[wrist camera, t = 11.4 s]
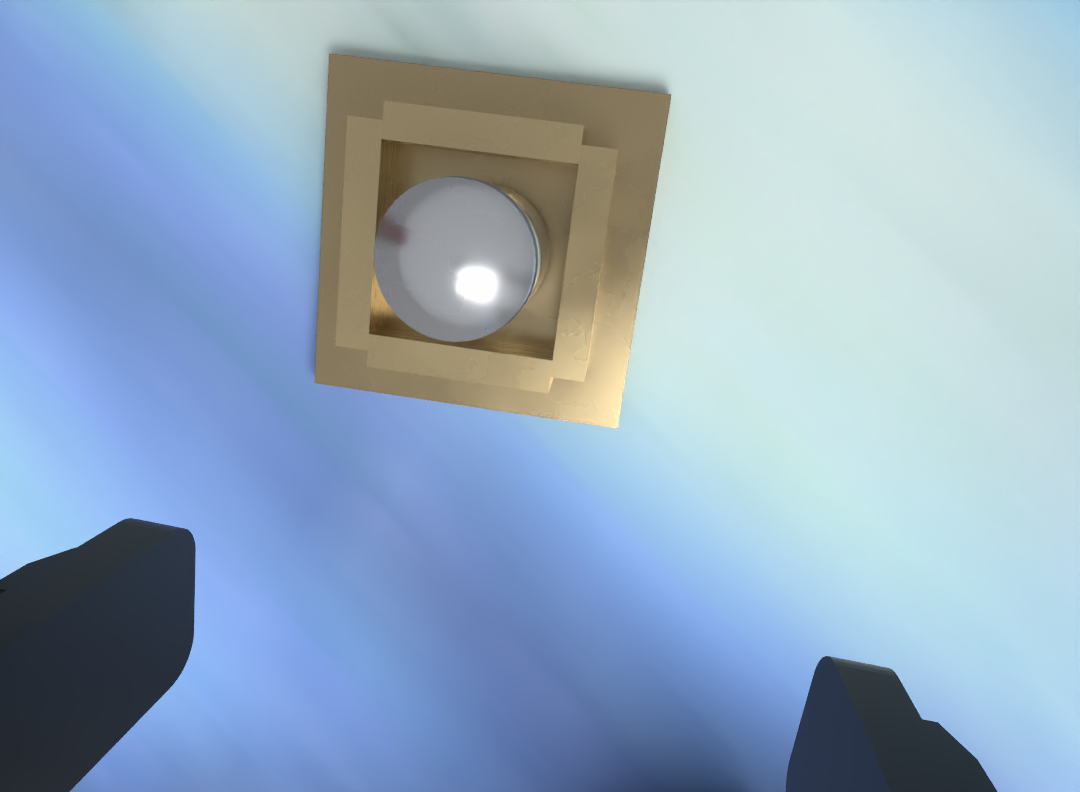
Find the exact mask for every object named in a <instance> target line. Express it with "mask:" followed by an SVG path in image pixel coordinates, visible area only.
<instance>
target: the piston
mask: <svg viewBox="0 0 1080 792" xmlns="http://www.w3.org/2000/svg"><path fill="white" fill-rule="evenodd" d="M549 252H550V250H549V240H548V234H547V231H546V228H545V225H544V223H543V221H542V219H541V217H540V215H539V214H538V212H537V211H536V209H535V208H534V207H533V206H532V205H531V203H530V202H529V201H527V200H526V199H525V198H524V197H523V196H521V195H520V194H519V193H517V192H515V191H514V190H512V189H510V188H507V187H504V186H502V185H498V184H493V183H488V182H484V181H481V180H479V179H474V178H469V177H462V176H449V177H441V178H436V179H431V180H428V181H425V182H422V183H420V184H418V185H416V186H414V187H412V188H410V189H409V190H407V191H406V192H405V193H403V194H402V195H401V196H400V197H399V198H398V199H397V200H396V201H395V202H394V203H393V204H392V205H391V206H390V208H389V209H388V210H387V212H386V214H385V215H384V217H383V219H382V221H381V223H380V226H379V228H378V231H377V235H376V238H375V244H374V269H375V274H376V278H377V282H378V285H379V288H380V290H381V293H382V294H383V296H384V298H385V300H386V302H387V303H388V305H389V306H390V308H391V309H392V310H393V312H394V313H395V314H396V315H397V316H398V317H399V318H400V319H401V320H402V321H403V322H405V323H406V324H407V325H408V326H410V327H411V328H413V329H414V330H416V331H417V332H419V333H421V334H423V335H425V336H428V337H431V338H434V339H438V340H442V341H451V342H463V341H470V340H475V339H478V338H482V337H485V336H487V335H489V334H491V333H493V332H495V331H497V330H499V329H500V328H502V327H503V326H505V325H506V324H508V323H509V322H510V321H511V320H512V319H513V318H514V317H515V316H516V315H517V314H518V313H519V312H520V311H521V309H522V308H523V307H524V305H525V304H526V302H527V301H528V300H529V299H530V298H531V297H532V296H533V294H534V293H535V292H536V291H537V289H538V288H539V286H540V285H541V283H542V281H543V279H544V277H545V274H546V271H547V267H548V262H549Z"/></svg>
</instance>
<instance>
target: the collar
mask: <svg viewBox="0 0 1080 792" xmlns="http://www.w3.org/2000/svg"><path fill="white" fill-rule="evenodd" d="M670 100H671V94H662V93H654V92H646V91H637V90H629V89H620V88H612V87H604V86H595V85H587V84H579V83H570V82H562V81H554V80H545V79H537V78H529V77H520V76H512V75H504V74H495V73H487V72H478V71H470V70H462V69H453V68H445V67H437V66H428V65H420V64H412V63H403V62H395V61H387V60H378V59H370V58H362V57H353V56H345V55H337V54H329V73H328V95H327V117H326V139H325V162H324V184H323V206H322V228H321V250H320V272H319V295H318V317H317V339H316V361H315V383H318V384H325V385H332V386H338V387H345V388H352V389H358V390H365V391H372V392H378V393H385V394H392V395H398V396H405V397H412V398H418V399H425V400H431V401H438V402H445V403H451V404H458V405H465V406H471V407H478V408H485V409H491V410H498V411H505V412H511V413H518V414H525V415H531V416H538V417H545V418H551V419H558V420H565V421H571V422H578V423H585V424H591V425H598V426H605V427H611V428H618V422H619V416H620V410H621V404H622V398H623V391H624V385H625V379H626V373H627V367H628V361H629V354H630V348H631V342H632V336H633V330H634V323H635V317H636V311H637V305H638V299H639V292H640V286H641V280H642V274H643V268H644V261H645V255H646V249H647V243H648V237H649V230H650V224H651V218H652V212H653V206H654V199H655V193H656V187H657V181H658V175H659V169H660V162H661V156H662V150H663V144H664V138H665V131H666V125H667V119H668V113H669V107H670ZM449 176H462V177H469V178H474V179H479V180H481V181H484V182H488V183H493V184H498V185H502V186H504V187H507V188H510V189H512V190H514V191H515V192H517V193H519V194H520V195H521V196H523V197H524V198H525V199H526V200H527V201H529V202H530V203H531V205H532V206H533V207H534V208H535V209H536V211H537V212H538V214H539V215H540V217H541V219H542V221H543V223H544V225H545V228H546V231H547V234H548V240H549V250H550V252H549V262H548V267H547V271H546V274H545V277H544V279H543V281H542V283H541V285H540V286H539V288H538V289H537V291H536V292H535V293H534V294H533V296H532V297H531V298H530V299H529V300H528V301H527V302H526V304H525V305H524V307H523V308H522V309H521V311H520V312H519V313H518V314H517V315H516V316H515V317H514V318H513V319H512V320H511V321H510V322H509V323H508V324H506V325H505V326H503V327H502V328H500V329H499V330H497V331H495V332H493V333H491V334H489V335H487V336H485V337H482V338H478V339H475V340H470V341H463V342H451V341H442V340H438V339H434V338H431V337H428V336H425V335H423V334H421V333H419V332H417V331H416V330H414V329H413V328H411V327H410V326H408V325H407V324H406V323H405V322H403V321H402V320H401V319H400V318H399V317H398V316H397V315H396V314H395V313H394V312H393V310H392V309H391V308H390V306H389V305H388V303H387V302H386V300H385V298H384V296H383V294H382V293H381V290H380V288H379V285H378V282H377V278H376V274H375V269H374V244H375V238H376V235H377V231H378V228H379V226H380V223H381V221H382V219H383V217H384V215H385V214H386V212H387V210H388V209H389V208H390V206H391V205H392V204H393V203H394V202H395V201H396V200H397V199H398V198H399V197H400V196H401V195H402V194H403V193H405V192H406V191H407V190H409V189H410V188H412V187H414V186H416V185H418V184H420V183H422V182H425V181H428V180H431V179H436V178H441V177H449Z"/></svg>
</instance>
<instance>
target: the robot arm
mask: <svg viewBox="0 0 1080 792" xmlns="http://www.w3.org/2000/svg"><path fill="white" fill-rule="evenodd" d="M194 598H195V541H194V538H193V535H192V534H191V532H190V531H189V530H187V529H184V528H179V527H174V526H169V525H164V524H159V523H153V522H148V521H143V520H138V519H133V518H128V519H124V520H122V521H120V522H118V523H117V524H115V525H113V526H112V527H110V528H108V529H107V530H105V531H104V532H102V533H100V534H99V535H97V536H95V537H94V538H92V539H90V540H89V541H87V542H85V543H84V544H82V545H80V546H79V547H77V548H73V549H70V550H67V551H64V552H61V553H58V554H55V555H52V556H49V557H46V558H43V559H40V560H37V561H34V562H31V563H28V564H26V565H25V566H23V567H21V568H20V569H18V570H16V571H14V572H13V573H11V574H9V575H8V576H6V577H4V578H2V579H1V580H0V792H70V790H71V789H72V788H73V787H74V786H75V785H76V784H77V783H78V782H79V781H80V780H81V779H82V778H83V777H84V776H85V775H86V774H87V773H88V772H89V771H90V770H91V769H92V768H93V767H94V766H95V765H96V764H97V763H98V762H99V761H100V760H101V759H102V758H103V756H104V755H105V754H106V753H107V752H108V751H109V750H110V749H111V748H112V747H113V746H114V745H115V744H116V743H117V742H118V741H119V740H120V739H121V738H122V737H123V736H124V735H125V734H126V733H127V732H128V731H129V730H130V729H131V728H132V727H133V726H134V725H135V724H136V722H137V721H138V720H139V719H140V718H141V717H142V716H143V715H144V714H145V713H146V712H147V711H148V710H149V709H150V708H151V707H152V706H153V705H154V704H155V703H156V702H157V701H158V700H159V699H160V698H161V697H162V696H163V695H164V694H165V693H166V692H167V691H168V690H169V688H170V687H171V686H172V685H173V684H174V683H175V681H176V680H177V679H178V677H179V676H180V674H181V672H182V671H183V669H184V667H185V665H186V662H187V660H188V657H189V654H190V651H191V647H192V643H193V636H194ZM786 792H997V790H996V789H995V787H994V786H993V784H992V782H991V781H990V779H989V778H988V776H987V774H986V773H985V771H984V770H983V768H982V766H981V765H980V763H979V762H978V760H977V759H976V758H975V757H974V756H973V755H972V754H971V753H970V752H969V751H968V750H967V749H966V748H964V747H963V746H962V745H961V744H960V743H959V742H958V741H957V740H956V739H955V738H954V737H953V736H952V735H951V734H949V733H948V732H947V731H946V730H945V729H944V728H943V727H942V726H941V725H940V724H939V723H938V722H933V721H928V720H923V719H921V717H920V715H919V713H918V712H917V710H916V708H915V706H914V704H913V703H912V701H911V699H910V697H909V696H908V694H907V692H906V690H905V688H904V687H903V685H902V683H901V681H900V680H899V678H898V676H897V675H896V673H895V672H894V671H893V670H892V669H889V668H885V667H880V666H875V665H870V664H865V663H860V662H855V661H850V660H845V659H840V658H834V657H829V656H825V657H823V658H822V659H821V660H820V661H819V663H818V665H817V667H816V669H815V672H814V676H813V679H812V683H811V686H810V690H809V693H808V697H807V700H806V704H805V707H804V711H803V715H802V718H801V722H800V725H799V729H798V732H797V736H796V739H795V743H794V747H793V750H792V754H791V757H790V761H789V766H788V772H787V782H786Z"/></svg>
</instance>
